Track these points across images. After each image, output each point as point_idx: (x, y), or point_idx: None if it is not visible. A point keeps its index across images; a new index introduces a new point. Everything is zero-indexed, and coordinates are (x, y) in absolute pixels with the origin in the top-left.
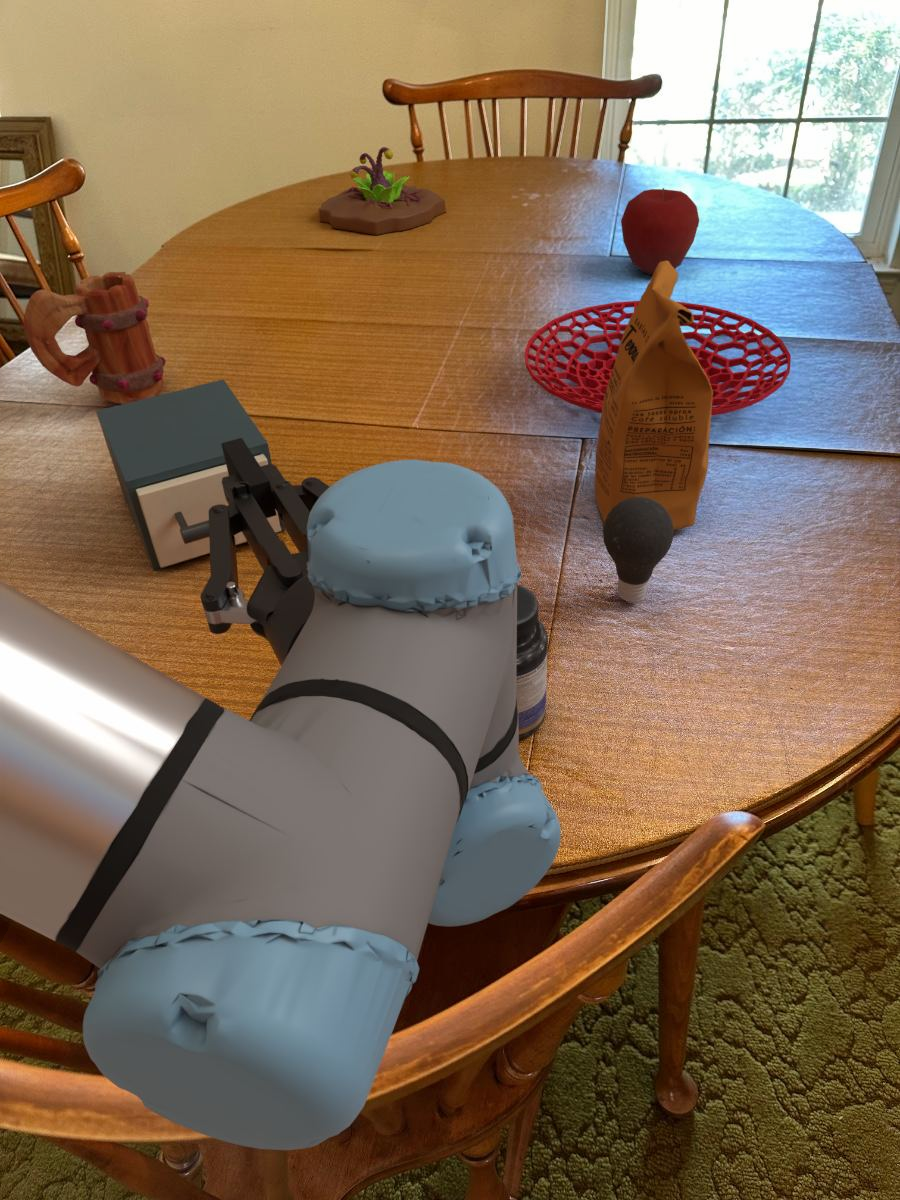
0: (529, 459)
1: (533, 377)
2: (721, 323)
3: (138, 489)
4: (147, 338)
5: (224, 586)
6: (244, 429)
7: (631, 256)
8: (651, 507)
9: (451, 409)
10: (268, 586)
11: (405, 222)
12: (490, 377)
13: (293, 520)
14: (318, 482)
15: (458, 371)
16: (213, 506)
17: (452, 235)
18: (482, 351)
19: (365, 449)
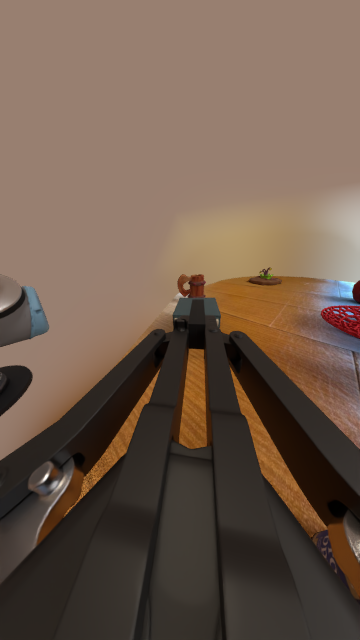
0: (323, 351)
1: (328, 321)
2: None
3: (175, 318)
4: (202, 289)
5: (27, 473)
6: (214, 310)
7: (355, 296)
8: None
9: (284, 324)
10: (59, 571)
11: (270, 283)
12: (299, 319)
13: (207, 372)
14: (245, 337)
15: (286, 315)
16: (156, 329)
17: (283, 287)
18: (295, 311)
19: (251, 328)
